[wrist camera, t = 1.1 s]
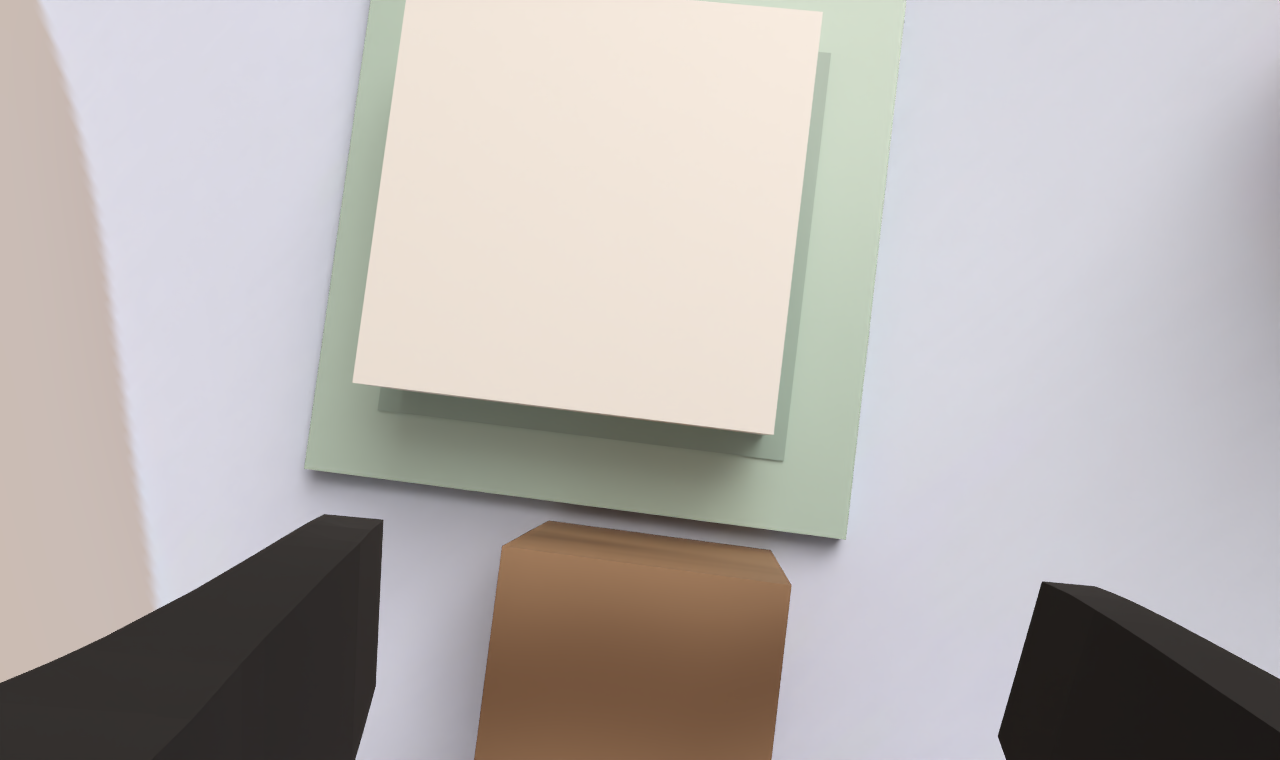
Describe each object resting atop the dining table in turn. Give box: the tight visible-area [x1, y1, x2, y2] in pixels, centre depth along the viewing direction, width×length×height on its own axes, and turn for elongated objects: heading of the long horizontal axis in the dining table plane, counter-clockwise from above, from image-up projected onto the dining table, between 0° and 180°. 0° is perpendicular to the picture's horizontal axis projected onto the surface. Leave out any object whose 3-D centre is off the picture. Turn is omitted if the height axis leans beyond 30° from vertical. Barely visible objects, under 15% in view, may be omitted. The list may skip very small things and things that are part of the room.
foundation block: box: [352, 0, 823, 435], centre depth 19 cm, size 8×8×3 cm
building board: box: [304, 0, 906, 540], centre depth 21 cm, size 12×12×1 cm
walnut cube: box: [474, 521, 791, 760], centre depth 19 cm, size 5×5×5 cm
